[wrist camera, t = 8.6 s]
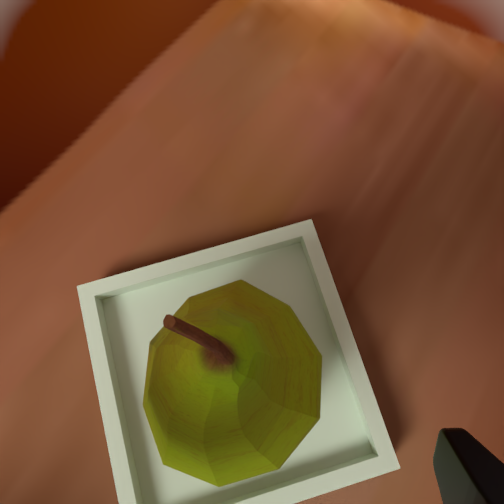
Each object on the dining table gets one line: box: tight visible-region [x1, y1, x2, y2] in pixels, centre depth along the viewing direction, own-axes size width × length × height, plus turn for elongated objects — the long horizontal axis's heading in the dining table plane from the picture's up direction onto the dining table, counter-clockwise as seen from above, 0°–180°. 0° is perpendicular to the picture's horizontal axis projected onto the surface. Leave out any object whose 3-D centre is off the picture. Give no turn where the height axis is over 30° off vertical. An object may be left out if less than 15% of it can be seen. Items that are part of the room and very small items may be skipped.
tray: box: [77, 219, 400, 504], centre depth 18 cm, size 10×10×2 cm
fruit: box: [143, 279, 322, 487], centre depth 13 cm, size 6×6×12 cm
